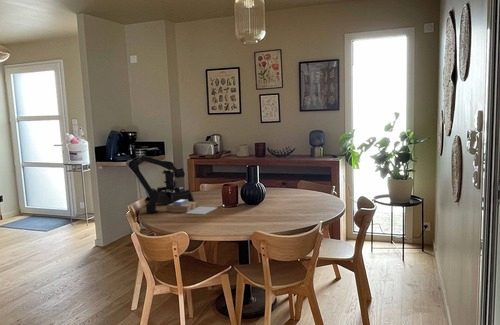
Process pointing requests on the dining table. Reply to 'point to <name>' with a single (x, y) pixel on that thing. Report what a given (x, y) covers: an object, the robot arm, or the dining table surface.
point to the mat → (201, 210)
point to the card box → (181, 202)
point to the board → (182, 207)
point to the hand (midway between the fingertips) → (171, 201)
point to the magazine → (175, 197)
